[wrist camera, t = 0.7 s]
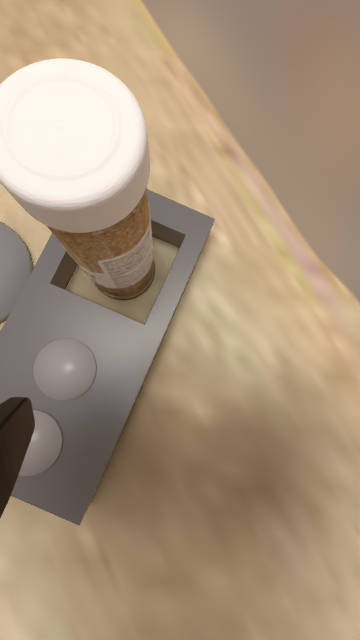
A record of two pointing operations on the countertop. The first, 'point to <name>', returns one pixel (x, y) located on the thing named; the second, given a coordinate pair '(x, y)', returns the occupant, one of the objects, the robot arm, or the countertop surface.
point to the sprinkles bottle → (81, 167)
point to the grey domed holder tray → (85, 364)
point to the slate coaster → (12, 269)
